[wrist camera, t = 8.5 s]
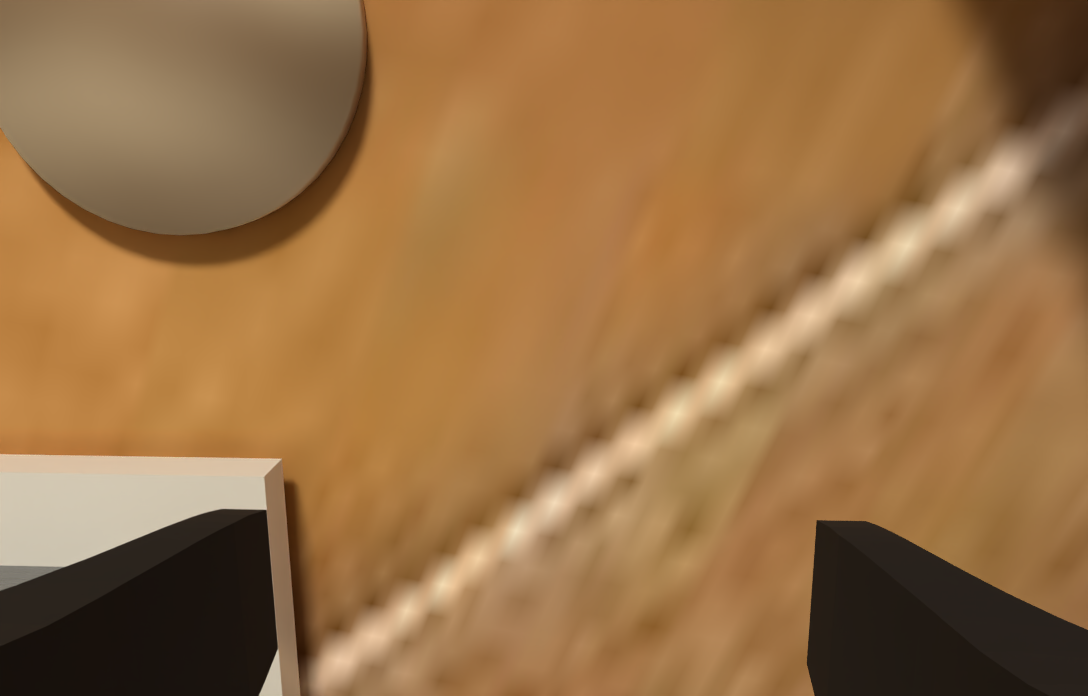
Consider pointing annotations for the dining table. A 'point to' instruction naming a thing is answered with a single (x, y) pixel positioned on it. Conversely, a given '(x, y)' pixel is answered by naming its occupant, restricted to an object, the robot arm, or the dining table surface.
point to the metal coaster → (180, 103)
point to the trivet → (142, 517)
